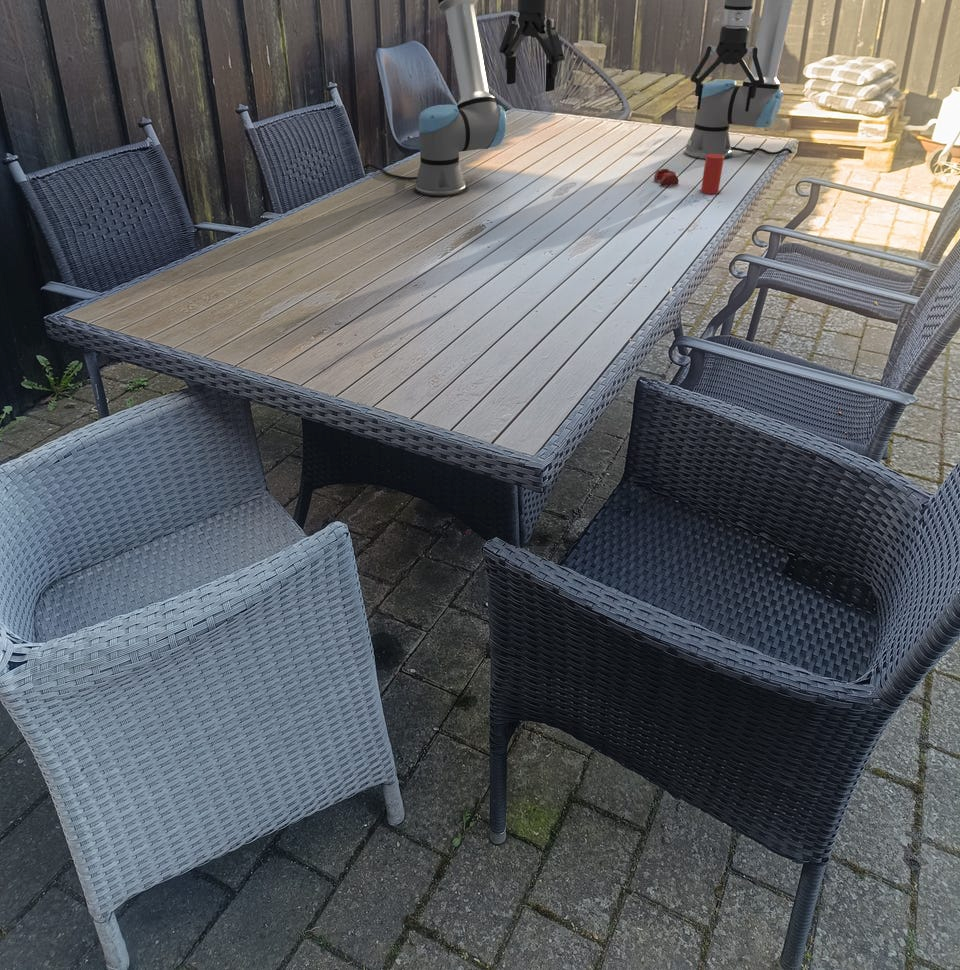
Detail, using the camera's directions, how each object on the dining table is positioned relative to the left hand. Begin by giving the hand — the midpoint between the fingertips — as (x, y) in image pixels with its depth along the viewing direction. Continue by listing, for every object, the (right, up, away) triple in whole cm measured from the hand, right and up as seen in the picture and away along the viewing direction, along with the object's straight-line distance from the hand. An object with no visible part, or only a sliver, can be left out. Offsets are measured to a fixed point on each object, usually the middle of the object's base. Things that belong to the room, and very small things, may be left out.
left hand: (530, 87), depth 222 cm
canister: (+57, -16, +34) cm, 68 cm away
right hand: (+57, +3, +21) cm, 61 cm away
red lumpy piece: (+45, -11, +42) cm, 62 cm away
